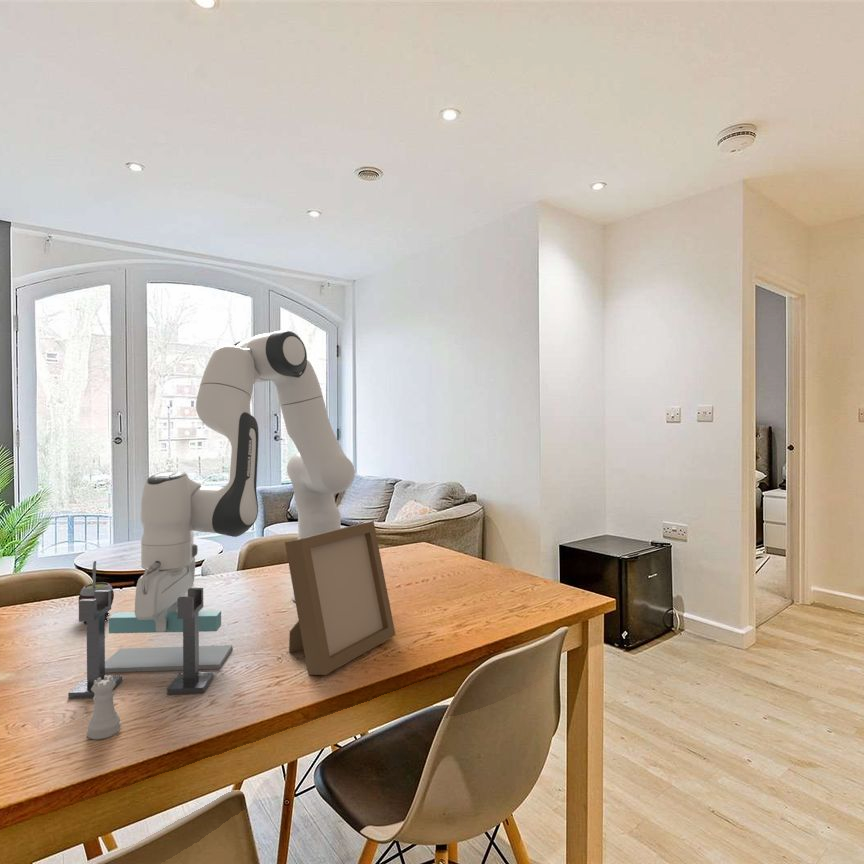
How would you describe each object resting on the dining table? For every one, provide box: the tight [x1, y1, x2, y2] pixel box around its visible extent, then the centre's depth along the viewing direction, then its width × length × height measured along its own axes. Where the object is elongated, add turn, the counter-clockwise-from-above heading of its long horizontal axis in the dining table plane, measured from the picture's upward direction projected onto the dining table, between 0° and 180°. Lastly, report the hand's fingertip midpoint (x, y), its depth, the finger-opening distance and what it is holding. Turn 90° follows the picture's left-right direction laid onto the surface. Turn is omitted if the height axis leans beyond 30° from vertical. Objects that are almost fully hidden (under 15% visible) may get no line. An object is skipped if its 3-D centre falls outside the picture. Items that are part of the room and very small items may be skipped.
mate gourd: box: [78, 560, 115, 624], centre depth 130 cm, size 8×8×15 cm
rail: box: [108, 610, 222, 634], centre depth 108 cm, size 20×3×3 cm, turn 95°
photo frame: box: [284, 520, 396, 676], centre depth 113 cm, size 15×22×25 cm
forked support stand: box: [67, 587, 215, 699], centre depth 97 cm, size 22×6×16 cm, turn 95°
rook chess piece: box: [86, 675, 122, 741], centre depth 83 cm, size 4×4×8 cm
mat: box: [105, 644, 233, 674], centre depth 108 cm, size 22×9×1 cm, turn 95°
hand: (166, 626), depth 108 cm, fingers closed on rail, 3 cm apart
